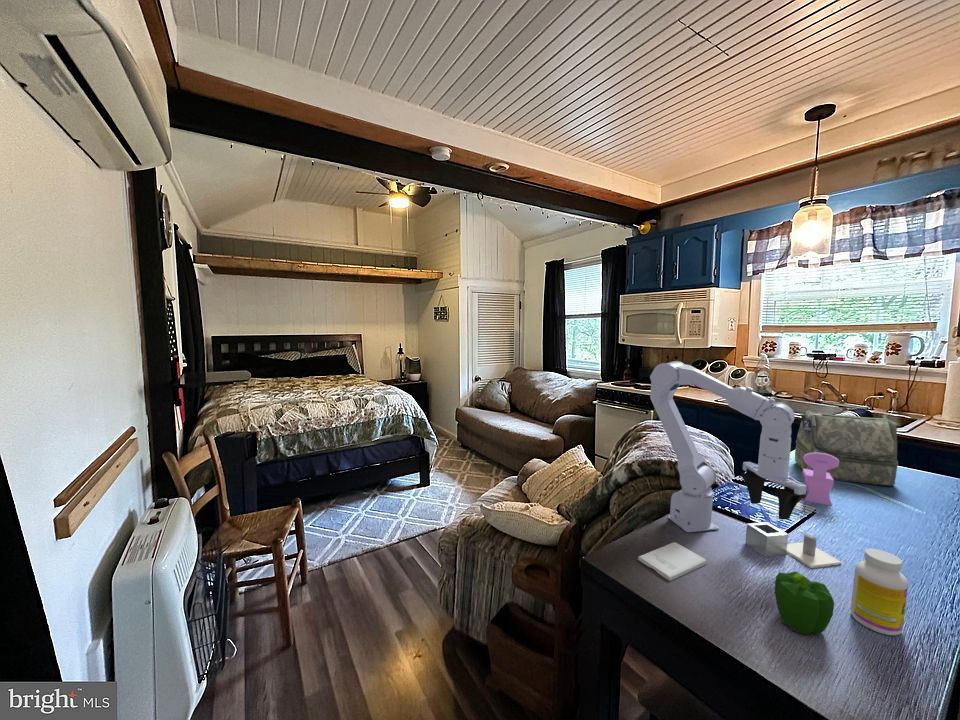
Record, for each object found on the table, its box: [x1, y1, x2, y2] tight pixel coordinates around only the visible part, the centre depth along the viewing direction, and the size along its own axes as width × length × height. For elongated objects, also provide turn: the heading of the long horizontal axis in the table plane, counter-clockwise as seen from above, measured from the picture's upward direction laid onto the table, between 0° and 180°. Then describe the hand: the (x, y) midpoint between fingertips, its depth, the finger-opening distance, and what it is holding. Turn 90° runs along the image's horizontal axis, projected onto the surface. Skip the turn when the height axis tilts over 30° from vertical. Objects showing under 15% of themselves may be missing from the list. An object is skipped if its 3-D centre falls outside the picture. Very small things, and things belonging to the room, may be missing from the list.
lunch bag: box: [794, 410, 899, 486], centre depth 137 cm, size 26×18×22 cm
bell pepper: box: [774, 571, 835, 635], centre depth 70 cm, size 8×8×10 cm
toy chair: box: [802, 452, 839, 506], centre depth 120 cm, size 8×9×15 cm
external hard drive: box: [637, 541, 707, 582], centre depth 88 cm, size 2×8×12 cm
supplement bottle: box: [850, 548, 909, 636], centre depth 70 cm, size 7×7×13 cm
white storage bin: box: [744, 521, 789, 558], centre depth 93 cm, size 6×6×5 cm
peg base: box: [786, 533, 842, 569], centre depth 90 cm, size 8×8×5 cm
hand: (769, 510), depth 93 cm, fingers open, 7 cm apart
